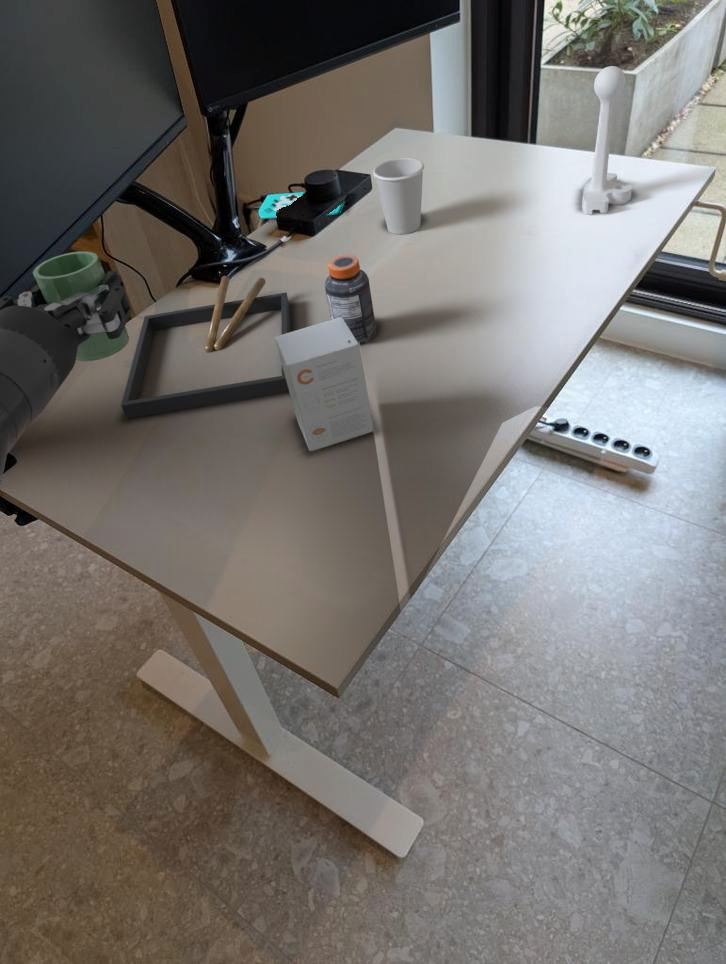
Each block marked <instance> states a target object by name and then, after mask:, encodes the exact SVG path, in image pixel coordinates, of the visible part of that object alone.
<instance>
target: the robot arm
mask: <svg viewBox="0 0 726 964" xmlns="http://www.w3.org/2000/svg"><path fill="white" fill-rule="evenodd" d="M123 280H124V279H123V278H122V275H121V274H119V273H118V271H117V270H108V271H107V272H106V273H105V276H104V278H103V279H102V280H101V281H100V283H99V284H98V285H97V287H96V288H94V289H92V290H91V291H89V292H87V293H85V292H77V293H75V294H73V295H71V296H70V297H68V298H66V299H64V300H63V301H61V302H59V303H57V302H54V303H52V304H47V303H46V301H45V299H44V296H43V294H42V292H41V290H40V288H39V286H38V283H37V284H35V285H34V287H32V288H31V289H30V291H24V292H23V291H22V293H19V295H18V298H17V299H13V297H12V296H11V295H7V296H6V295H5V296H2V297H0V482H1V481H2V477H3V474H4V471H5V468H6V467H5V466H6V461H7V456H8V454H9V453H10V451H12V450H13V448H14V446H15V445H16V444H17V442H18V441H19V439H20V438H21V437H22V435H23V434H24V433H25V431H26V430H27V428H28V427H29V426H30V424H32V422H34V421H35V420H36V419H37V418H38V417H39V416H40V415H41V414H42V412H44V410H45V409H46V407H47V406H48V404H49V403H50V402H51V400H52V399H53V397H54V396H55V394H57V391H58V390H59V389H60V387H61V386H62V385H63V384H64V382H65V380H66V379H67V378H68V376H69V375H70V373H71V371H72V370H73V369H74V367H75V364H76V361H77V360H76V356H77V349H78V346H79V345H80V344H81V343H82V342H84V341H86V340H87V339H88V338H89V337H90V335H91V334H92V333H100V332H106V335H107V337H108V339H116V338H118V337H120V336H121V334H122V331H123V329H124V327H126V325H127V322H128V320H129V319H130V317H131V314H132V312H133V309H132V307H131V304H130V301H129V298H128V295H127V293H126V286H125V283H124V281H123ZM98 298H99V300H100V302H101V305H102V307H98V308H97V309H96V306H95V304H94V302H95V300H96V299H98ZM78 304H80V306H81V308H82V311H83V313H84V315H85V317H84V315H83V314H82V313H81V311H80V310H79V309H78V307H76V305H78Z"/></svg>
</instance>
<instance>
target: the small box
mask: <svg viewBox="0 0 726 964" xmlns="http://www.w3.org/2000/svg"><path fill="white" fill-rule="evenodd" d="M274 341H275V344H276V345H275V346H276V348H277V351H278V355H279V359H280V363H281V368H282V367H283V370H284V374H285V378H286V381H287V385H288V389H289V396H290V399H291V403H292V406H293V410H294V414H295V417H296V421H297V423H298V426H299V429H300V431H301V433H302V436H303V438H304V441H305V443H306V446H307V448H308V450H309V452H313V451H317V450H321V449H323V448H326V447H329V446H332V445H333V446H334V445H335V444H338V443H339V444H340V443H342V442H345V441H348V440H351V439H355V438H357V437H360V436H364V435H367V434H369V433H373V434H375V430H374V423H373V418H372V411H371V405H370V404H371V403H370V400H369V394H368V393H369V392H368V389H367V382H366V377H365V371H364V364H363V360H362V354H361V353H362V352H361V347H360V342H357V340H356V339H355V337H354V336H353V334H352V333H351V331H350V329H349V328H348V326H347V325H346V323H345V321H344V320H343V318H342V317H339V318H335V319H332V320H331V319H329V320H326V321H322V322H319V323H315V324H311V325H310V326H306V327H302V328H300V329H296V330H293V331H290V332H289V333H286V334H283V335H282V334H280V335H279V334H278V335H276V336H274Z"/></svg>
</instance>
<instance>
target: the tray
mask: <svg viewBox="0 0 726 964" xmlns="http://www.w3.org/2000/svg"><path fill="white" fill-rule="evenodd" d="M243 301H244V299H239V300H234V301H227V302H224V306H223V310H222V315H221V319H220V321H221V320H225V319H226V320H227V319H232V317H233V316H234V314H235V313H236V311H237V310H238V308H239V307H240V305H241V304H242V302H243ZM290 307H291V305H290V302H289V296H288V293H287V292H280V293H275V294H274V293H273V294H269V295H268V294H267V295H263V296H257V297H256V298H255V300H254V301H253V303H252V304H251V306H250V307H249V309H248V310H247V312H246V313H245V315H244V316H243V317H245V316H250V315H255V314H256V315H257V314H263V313H267V312H273V311H280V310H281V311H280V312H281V314H280V315H281V316H280V317H281V319H280V321H281V335H283V334H286V333H289V332H291V310H290V309H291V308H290ZM214 308H215V304H210V305H203V306H197V307H192V308H191V307H190V308H186V309H185V308H184V309H180V310H173V311H167V312H162V313H156V314H148V315H145V316H143V321H142V325H141V329H140V333H139V336H138V339H137V344H136V347H135V351H134V355H133V359H132V362H131V367H130V371H129V374H128V379H127V381H126V385H125V389H124V393H123V397H122V401H121V404H120V407H121V408H122V412H123V413H124V415H125V417H126V419H127V420H129V419H134V418H141V417H147V416H151V415H152V416H153V415H160V414H165V413H172V412H178V411H183V410H190V409H196V408H197V409H198V408H202V407H203V408H204V407H207V406H213V405H220V404H226V403H232V402H233V403H234V402H238V401H244V400H251V399H257V398H263V397H268V396H269V397H270V396H276V395H281V394H288V393H289V394H290V392H289V389H288V385H287V381H286V378H285V374H284V370H283V367H282V366H281V375H278V376H272V377H264V378H260V379H253V380H248V381H241V382H235V383H229V384H222V385H216V386H211V387H204V388H198V389H192V390H186V391H180V392H173V393H167V394H162V395H157V396H150V397H144V398H139V396H140V391H141V388H142V383H143V380H144V379H143V378H144V375H145V371H146V366H147V362H148V358H149V355H150V354H149V353H150V350H151V347H152V346H151V345H152V342H153V337H154V333H155V331H160V330H167V329H172V328H173V329H174V328H178V327H184V326H189V325H197V324H203V323H208V322H211V320H212V316H213V312H214Z"/></svg>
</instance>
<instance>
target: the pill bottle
mask: <svg viewBox="0 0 726 964" xmlns="http://www.w3.org/2000/svg"><path fill="white" fill-rule="evenodd" d="M327 265H328V266H327V267H328V274H329V275H328V276H327V277H326V279H325V281H324V290H325V296H326V301H327V305H328V311H329V314H330V320H332V319H335V318H339V317H342V318H343V320H344V321H345V323H346V325H347V326H348V328H349V329H350V331H351V333H352V334H353V336H354V337H355V339H356V340H357V342H358V343H359V346H360V345H364V344H366V343H368V342H370V341H372V339H373V338H374V337H375V336H376V334H377V325H376V318H375V311H374V306H373V305H374V304H373V298H372V292H371V286H370V279H369V276H368V274H367V273H366V272H365V271H364V270H362V269H361V265H360V261H359V258H358V257H357V256H356V255H353V254H341V255H337V256H335V257H333V258H331V260H329V262H328V264H327Z"/></svg>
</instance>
